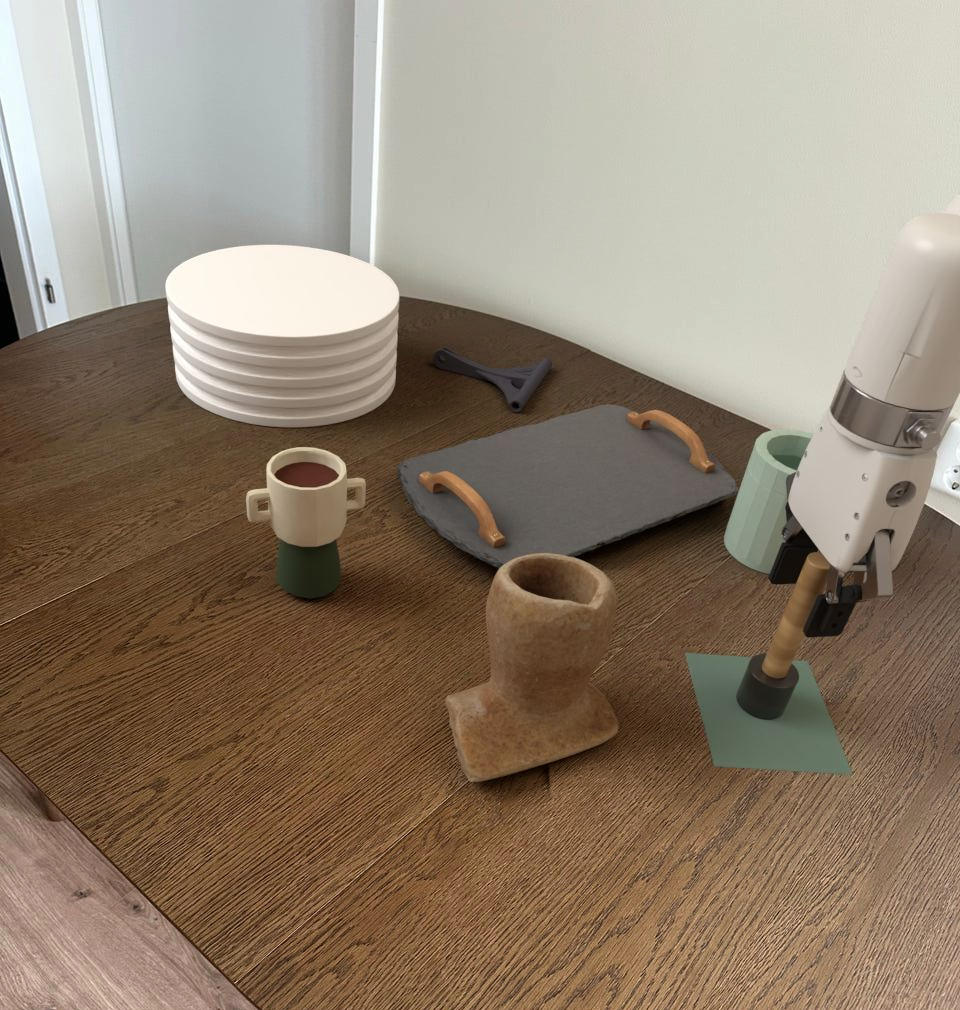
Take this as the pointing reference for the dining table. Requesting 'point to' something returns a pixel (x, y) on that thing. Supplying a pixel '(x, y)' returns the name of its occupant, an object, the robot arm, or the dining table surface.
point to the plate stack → (283, 334)
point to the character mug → (307, 516)
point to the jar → (764, 499)
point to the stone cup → (538, 669)
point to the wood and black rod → (783, 648)
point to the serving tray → (564, 483)
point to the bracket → (498, 375)
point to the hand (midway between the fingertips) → (803, 605)
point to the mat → (764, 721)
